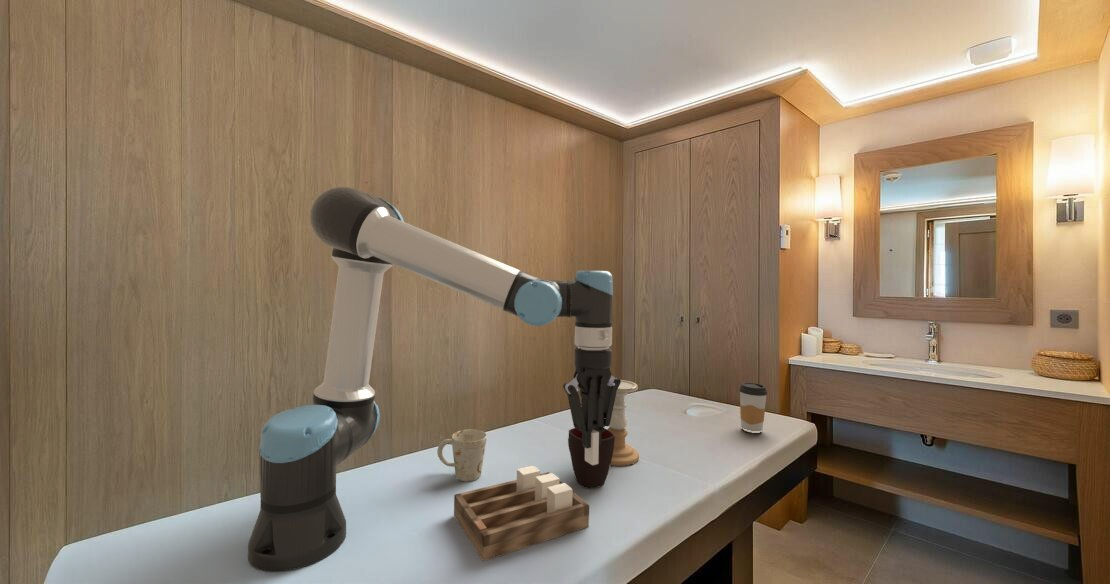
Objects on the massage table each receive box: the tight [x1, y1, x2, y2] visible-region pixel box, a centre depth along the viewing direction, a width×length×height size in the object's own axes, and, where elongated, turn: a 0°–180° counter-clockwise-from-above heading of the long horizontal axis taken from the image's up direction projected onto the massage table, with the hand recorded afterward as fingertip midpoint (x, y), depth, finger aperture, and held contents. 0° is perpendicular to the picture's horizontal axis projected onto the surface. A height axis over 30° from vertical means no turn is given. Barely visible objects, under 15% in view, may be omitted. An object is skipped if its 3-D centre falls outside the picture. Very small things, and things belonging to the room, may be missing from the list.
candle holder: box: [606, 379, 640, 467], centre depth 120 cm, size 12×12×20 cm
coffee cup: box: [739, 382, 768, 431], centre depth 144 cm, size 8×8×15 cm
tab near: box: [547, 482, 574, 513], centre depth 86 cm, size 4×3×5 cm
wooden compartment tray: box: [453, 471, 590, 562], centre depth 88 cm, size 22×16×5 cm
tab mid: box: [535, 472, 560, 501], centre depth 91 cm, size 4×3×5 cm
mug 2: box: [567, 427, 615, 489], centre depth 106 cm, size 10×14×12 cm
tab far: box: [516, 465, 541, 492], centre depth 94 cm, size 4×3×5 cm
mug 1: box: [437, 428, 487, 482], centre depth 107 cm, size 8×13×10 cm, turn 78°
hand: (591, 462), depth 90 cm, fingers closed
